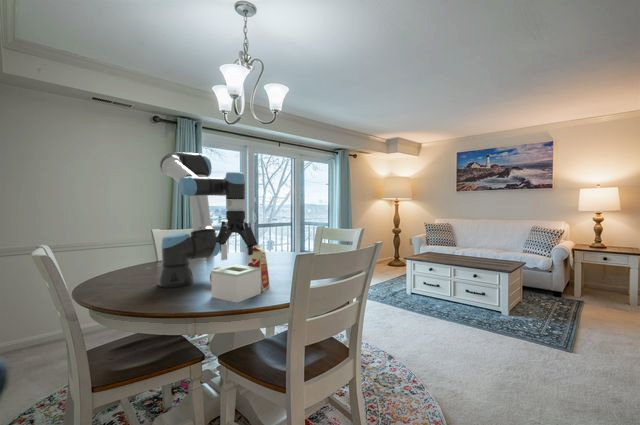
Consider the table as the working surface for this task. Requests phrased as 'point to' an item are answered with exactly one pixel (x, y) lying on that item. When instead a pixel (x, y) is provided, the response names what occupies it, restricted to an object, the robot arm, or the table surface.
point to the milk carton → (260, 266)
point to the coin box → (236, 282)
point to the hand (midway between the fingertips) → (236, 261)
